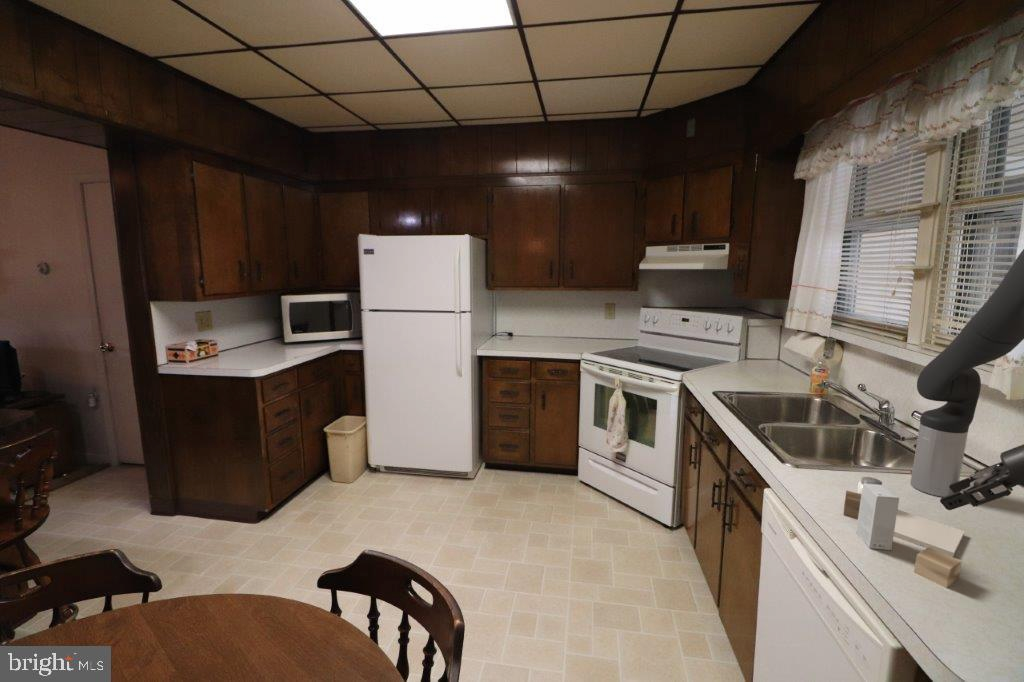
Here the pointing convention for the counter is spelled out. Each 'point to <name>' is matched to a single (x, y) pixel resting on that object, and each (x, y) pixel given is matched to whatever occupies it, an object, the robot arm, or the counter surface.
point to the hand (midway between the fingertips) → (948, 497)
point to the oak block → (937, 567)
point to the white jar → (868, 481)
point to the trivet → (927, 533)
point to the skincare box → (877, 516)
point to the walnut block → (852, 504)
